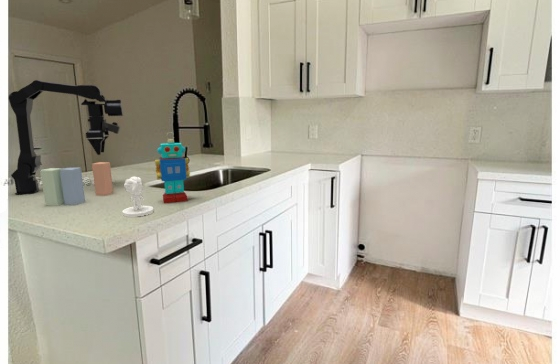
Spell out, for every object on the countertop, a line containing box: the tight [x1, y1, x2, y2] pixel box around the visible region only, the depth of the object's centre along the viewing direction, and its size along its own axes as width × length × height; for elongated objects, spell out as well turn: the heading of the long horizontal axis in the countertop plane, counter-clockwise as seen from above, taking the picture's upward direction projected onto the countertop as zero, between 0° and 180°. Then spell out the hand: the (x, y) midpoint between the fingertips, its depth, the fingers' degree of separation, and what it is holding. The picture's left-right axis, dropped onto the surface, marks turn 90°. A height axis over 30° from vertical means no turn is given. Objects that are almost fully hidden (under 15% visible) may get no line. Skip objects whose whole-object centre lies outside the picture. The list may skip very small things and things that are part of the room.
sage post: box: [39, 167, 65, 207], centre depth 114 cm, size 4×4×12 cm
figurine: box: [122, 176, 154, 218], centre depth 104 cm, size 9×9×12 cm
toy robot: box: [154, 131, 191, 204], centre depth 117 cm, size 12×6×25 cm, turn 114°
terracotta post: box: [91, 161, 114, 196], centre depth 128 cm, size 4×4×12 cm
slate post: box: [60, 167, 86, 206], centre depth 115 cm, size 4×4×12 cm
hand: (100, 153), depth 139 cm, fingers open, 9 cm apart
